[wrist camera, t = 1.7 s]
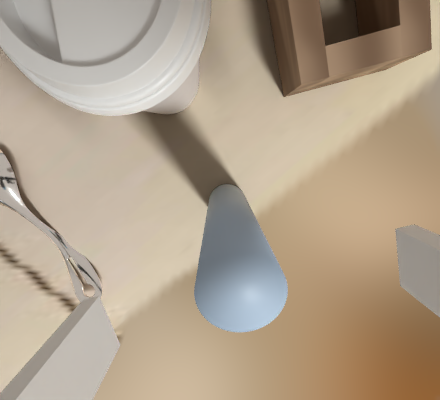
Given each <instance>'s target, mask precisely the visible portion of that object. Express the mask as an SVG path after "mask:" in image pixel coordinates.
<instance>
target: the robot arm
mask: <svg viewBox="0 0 440 400" xmlns="http://www.w3.org/2000/svg"><path fill="white" fill-rule="evenodd" d="M396 241H397V253H398V264H399V275H400V286H401V287H402V288H404V289H405V290H406V291H407V292H409V293H410V294H411V295H412V296H414V297H415V298H416V299H417V300H419V301H420V302H421V303H422V304H424V305H425V306H427V308H429V309H430V310H431V311H433V312H434V313H435V314H436V315H438V316H439V317H440V235H438V234H436V233H433V232H431V231H429V230H426V229H424V228H422V227H419V226H417V225H410V226H406V227H401V228H397V229H396ZM119 347H120V343H119V341H118V339H117V336H116V334H115V332H114V329H113V327H112V325H111V322H110V320H109V318H108V315H107V313H106V311H105V308H104V306H103V304H102V301H101V299H100V297H99V296H97V297H93V298H88V299H84V300H83V301H82V302H81V303H80V304H79V305H78V306H77V307H76V308H75V310H74V311H73V312H72V313H71V314H70V315H69V316H68V318H67V319H66V320H65V321H64V322H63V323H62V324H61V325H60V327H59V328H58V329H57V330H56V331H55V332H54V333H53V334H52V336H51V337H50V338H49V339H48V340H47V341H46V342H45V343H44V345H43V346H42V347H41V348H40V349H39V350H38V351H37V352H36V354H35V355H34V356H33V357H32V358H31V359H30V360H29V362H28V363H27V364H26V365H25V366H24V367H23V368H22V369H21V371H20V372H19V373H18V374H17V375H16V376H15V377H14V378H13V380H12V381H11V382H10V383H9V384H8V385H7V386H6V387H5V389H4V390H3V391H2V392H1V393H0V400H93V398H94V396H95V394H96V392H97V390H98V388H99V386H100V384H101V382H102V380H103V378H104V376H105V374H106V372H107V370H108V368H109V366H110V364H111V362H112V360H113V358H114V356H115V354H116V352H117V350H118V349H119Z"/></svg>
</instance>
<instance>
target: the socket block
mask: <svg viewBox="0 0 440 400" xmlns="http://www.w3.org/2000/svg"><path fill="white" fill-rule="evenodd" d="M355 3H356V13H357V23H358V33H359V37H356V38H353V39H349V40H346V41H342V42H338V43H335V44H331V45H328V46H325V40H324V32H323V24H322V17H321V9H320V2H319V0H267V4H268V10H269V16H270V21H271V27H272V33H273V38H274V44H275V50H276V55H277V61H278V67H279V72H280V78H281V84H282V89H283V95H284V97H286V96H290V95H294V94H297V93H301V92H305V91H308V90H312V89H316V88H320V87H323V86H327V85H331V84H334V83H338V82H342V81H345V80H349V79H353V78H357V77H360V76H364V75H368V74H371V73H375V72H379V71H383V70H386V69H388V68H391V67H393V66H395V65H397V64H400V63H402V62H404V61H406V60H409V59H411V58H413V57H416V56H418V55H420V54H422V53H425V52H427V51H429V50H431V49H432V46H431V18H430V0H355Z"/></svg>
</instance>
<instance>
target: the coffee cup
mask: <svg viewBox="0 0 440 400" xmlns="http://www.w3.org/2000/svg"><path fill="white" fill-rule="evenodd" d="M210 14H211V0H0V47H1V48H2V49H3V51H4V52H5V53H6V55H7V56H8V57H9V58H10V60H11V61H12V62H13V63H14V64H15V65H16V66H17V67H18V68H19V69H20V70H21V71H22V73H23V74H24V75H25V76H27V77H28V78H29V79H30V80H31V81H32V82H33V83H34V84H36V85H37V86H38V87H39V88H41V89H42V90H44V91H45V92H46V93H48V94H49V95H51V96H52V97H54V98H55V99H57V100H58V101H60V102H62V103H64V104H66V105H68V106H70V107H72V108H75V109H78V110H80V111H84V112H87V113H91V114H97V115H105V116H120V115H128V114H133V113H137V112H140V111H146V112H153V113H159V114H175V113H178V112H180V111H182V110H184V109H185V108H187V107H188V106H189V105H190V104H191V103H192V101H193V100H194V98H195V96H196V94H197V91H198V87H199V57H200V54H201V52H202V49H203V46H204V43H205V40H206V37H207V33H208V28H209V22H210Z"/></svg>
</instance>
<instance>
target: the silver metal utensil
mask: <svg viewBox="0 0 440 400" xmlns="http://www.w3.org/2000/svg"><path fill="white" fill-rule="evenodd" d="M0 204H1V205H3V206H5V207H7V208H10V209H11V210H13V211H15V212H17V213H18V214H20V215H22V216H23V217H25V218H26V219H27V220H29V221H30V222H31V223H33V224H34V225H35V226H36V227H38V228H39V229H40V230H41V231H42V232H43V233H44V234H45V235H46V236H47V237H48V238H49V239H50V240H51V241H52V242H53V244H54V245H55V246H56V247H57V249H58V250H59V252H60V254H61V256H62V258H63V261H64V263H65V266H66V269H67V272H68V275H69V278H70V281H71V284H72V287H73V289H74V292H75V294H76V296H77V298H78V299H79V301H80V302H82V301H83V300H84V299H88V298H93V297H97V296H99V297H100V299H101V298H102V296H103V287H102V284H101V281H100V279H99V277H98V275H97V273H96V272H95V270H94V268H93V267H92V266H91V264H90V263H89V261H88V260H87V259H86V258H85V256H83V255H82V254H80V253H79V252H77V251H76V250H75V249H73V248H72V247H71V246H70V245H69V244H68V243H67V242H66V241H65V239H64V238H63V237H62V236H61V235H60V234H58V233H57V232H56V231H54V230H53V229H51V228H50V227H49V226H47V225H46V224H45V223H43V222H42V221H41V220H40V219H38V218H37V217H36V216H35V215H34V214H33V213H32V212H31V211H30V210H29V209H28V208H27V207H26V205H25V204H24V202H23V201H22V199H21V196H20V194H19V190H18V186H17V182H16V178H15V175H14V172H13V170H12V167H11V165H10V163H9V161H8V160H7V158H6V156H5V155H4V153H3V152H2V151H1V150H0ZM70 257H72V258H73V260H74V261H75V263H76V265H77V267H78V268H79V270H80V272H81V273H82V275H83V277H84V278H85V280H86V282H87V284H90V285H92V286H93V287H94V288H95V294H94V296H91V297H89V296H87V295H86V294H85V293H84V286H83V284H82V282H81V280H80V279H79V277H78V275H77V274H76V272H75V270H74V268H73V267H72V265H71V263H70V262H69V260H68V259H69V258H70Z"/></svg>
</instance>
